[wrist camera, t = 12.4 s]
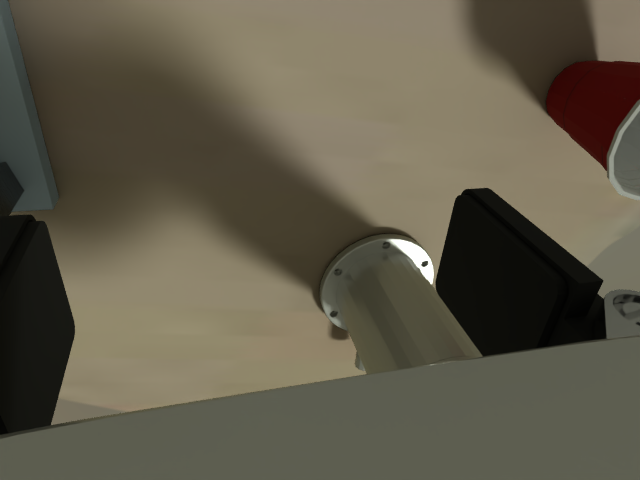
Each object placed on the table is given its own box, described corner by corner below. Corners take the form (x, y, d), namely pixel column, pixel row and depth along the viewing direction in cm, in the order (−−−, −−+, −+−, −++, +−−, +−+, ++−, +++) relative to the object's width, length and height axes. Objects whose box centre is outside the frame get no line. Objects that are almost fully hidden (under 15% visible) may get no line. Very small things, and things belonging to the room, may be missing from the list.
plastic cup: (496, 119, 43) (588, 171, 34) (578, 7, 40) (709, 30, 30) (564, 166, 48) (662, 223, 39) (643, 71, 45) (773, 108, 35)
